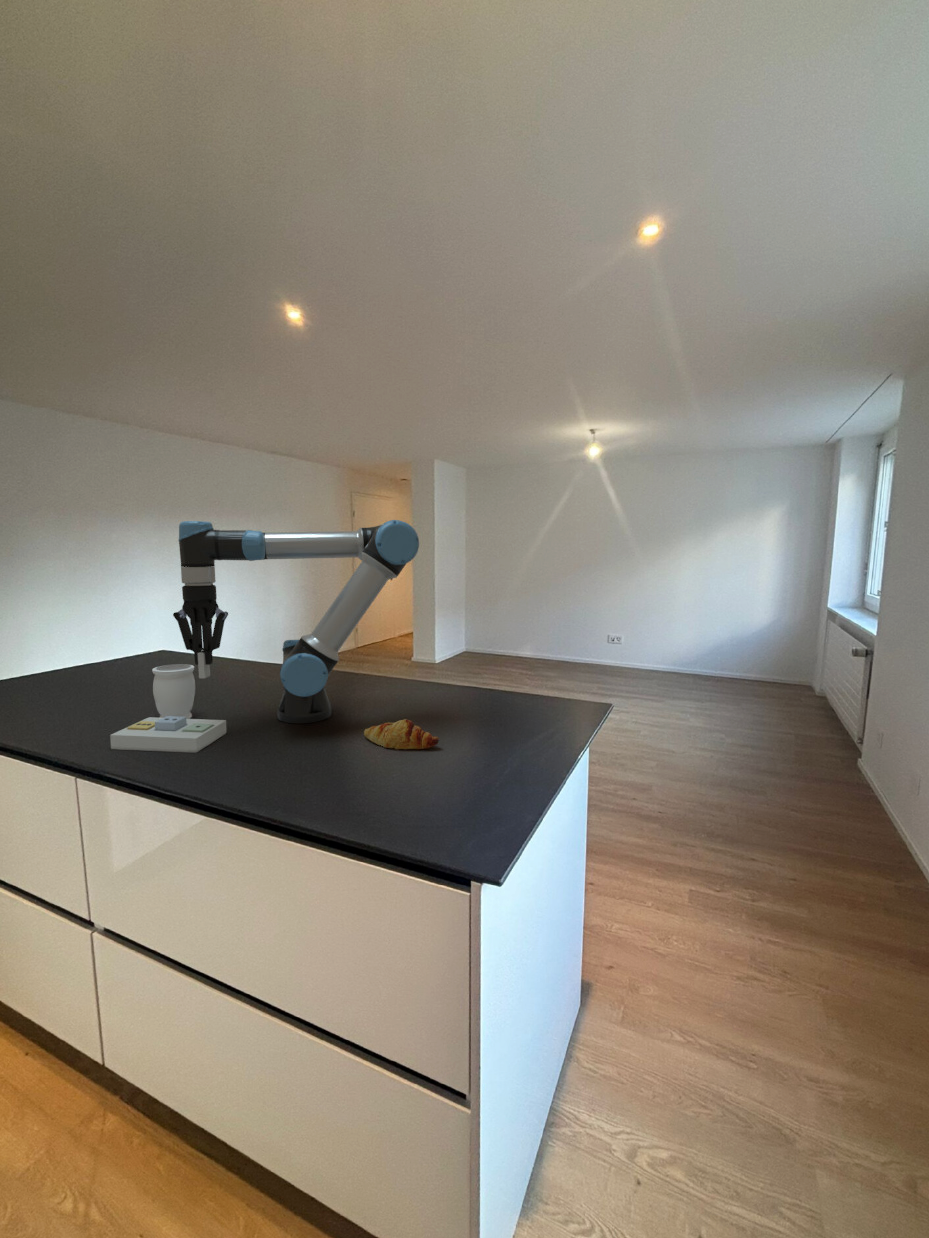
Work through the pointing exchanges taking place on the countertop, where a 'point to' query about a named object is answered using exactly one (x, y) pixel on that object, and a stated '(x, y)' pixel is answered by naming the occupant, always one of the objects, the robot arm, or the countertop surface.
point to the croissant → (400, 735)
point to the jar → (174, 690)
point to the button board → (168, 737)
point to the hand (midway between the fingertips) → (204, 676)
